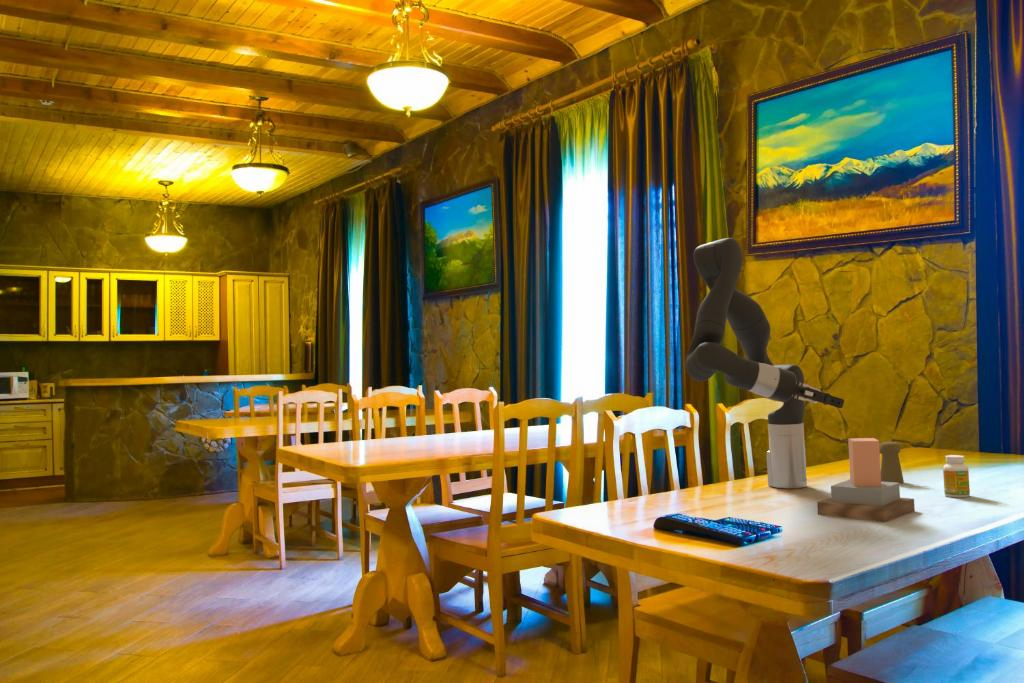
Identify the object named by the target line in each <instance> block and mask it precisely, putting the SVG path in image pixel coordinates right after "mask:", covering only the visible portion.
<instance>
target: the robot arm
mask: <svg viewBox="0 0 1024 683" xmlns="http://www.w3.org/2000/svg"><path fill="white" fill-rule="evenodd" d="M743 257H744V254H743V251H742V248H741V246H740V243H739V242H738V241H737V240H736V239H735V238H732V237H726V238H721V239H718V240H714V241H711V242H708V243H704V244H701V245H699V246H697V247H696V248H695V249H694V252H693V262H694V264H695V268H696V270H697V272H698V274H699V276H700V278H701V279H702V280H703V282H704V284H705V285H706V287H707V288H708V289H709V292H708V293H707V294H706V296H705V297H704V299H703V300H702V301H701V303H700V305H699V307H698V310H697V314H696V318H695V325H694V333H693V335H692V340H691V342H690V346H689V348H688V350H687V354H686V358H685V370H686V373H687V374H688V376H689V377H690V378H691V379H692V380H694V381H696V382H704V381H705V382H706V381H708V380H709V379H711V378H712V377H713V375H714V374H716V373H717V372H720V373H723V375H724V378H725V381H726V383H727V384H728V385H730V386H733V387H735V388H739V389H742V390H744V391H745V390H746V391H748V392H750V393H751V392H752V394H755V395H758V396H761V397H764V398H768V399H770V400H775V401H777V402H780V403H783V404H782V406H781V407H779V408H778V409H776V410H773V411H770V412H769V413H767V414H768V415H767V429H768V430H767V432H768V444H769V445H768V447H769V450H768V451H766V467H767V468H766V469H767V486H768V487H773V488H777V489H800V488H801V489H802V488H806V487H807V486H808V484H807V480H808V479H807V463H806V444H805V430H804V429H805V428H804V415H805V411H806V410H805V407H806V406H805V402H806V401H807V402H811V403H812V404H817V403H820V404H823V405H825V406H828V405H829V406H831V407H835V408H837V409H842V408H843V407H844V403H845V399H844V398H841V397H838V396H834V395H831V394H830V393H829V392H823V391H821V388H816V387H814V386H810V385H809V384H807V383H805V377H804V373H803V370H802V369H801V367H800V366H799V365H797V364H774V363H773V362H772V360H771V359H770V357H769V355H768V352H767V351H768V350H767V349H768V345H769V344H768V343H769V340H770V337H771V325H770V322H769V320H768V318H767V316H766V314H765V312H764V310H763V309H762V306H761V304H759V303H758V302H757V301H756V300H754V299H753V298H751V296H748V295H747V294H745V293H743V292H742V291H740V290H739V289H738V288H736V287H737V284H738V280H739V278H740V277H739V276H740V274H741V271H742V267H743V263H744V262H743V261H744V260H743V259H744V258H743ZM727 322H728V324H729V326H730V328H731V331H732V332H733V333H734V335H735V337H736V339H737V340H738V342H739V343H740V346H741V348H742V350H743V353H745V354H744V355H745V357H746V358H745V357H741V356H740V355H738V354H737V353H735V352H734V351H733V350H731V349H729V348H727V347H725V346H724V345H722V341H723V340H724V337H725V331H726V325H727Z"/></svg>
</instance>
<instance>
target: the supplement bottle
mask: <svg viewBox="0 0 1024 683" xmlns="http://www.w3.org/2000/svg"><path fill="white" fill-rule="evenodd" d="M945 462H946V464H944V465H943V468H942V470H943V475H942V476H943V491H944V495H945V497H947V498H957V499H959V498H960V499H964V498H969V497H970V496H971V489H970V478H969V477H970V473H969V467H968V466H967V465H966V464H965V455H959V454H958V455H957V454H948V455H945Z"/></svg>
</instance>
